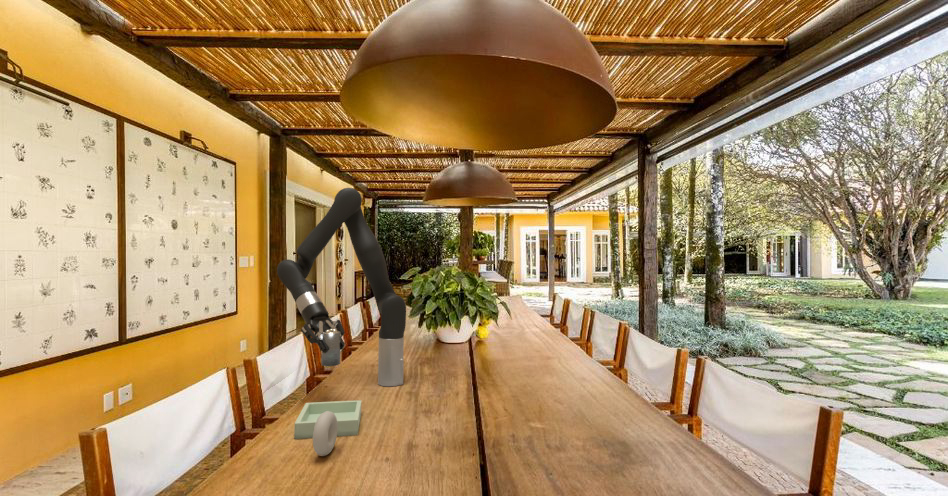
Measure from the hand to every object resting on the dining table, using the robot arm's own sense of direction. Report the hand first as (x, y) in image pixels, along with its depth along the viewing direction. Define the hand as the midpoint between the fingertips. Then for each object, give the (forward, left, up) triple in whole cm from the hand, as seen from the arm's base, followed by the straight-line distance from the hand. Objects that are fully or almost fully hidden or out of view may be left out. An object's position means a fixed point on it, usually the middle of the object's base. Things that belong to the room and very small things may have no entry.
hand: (334, 349), depth 137 cm
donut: (-2, +33, -18) cm, 38 cm away
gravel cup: (+1, -1, -5) cm, 5 cm away
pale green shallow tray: (-1, +15, -18) cm, 23 cm away
